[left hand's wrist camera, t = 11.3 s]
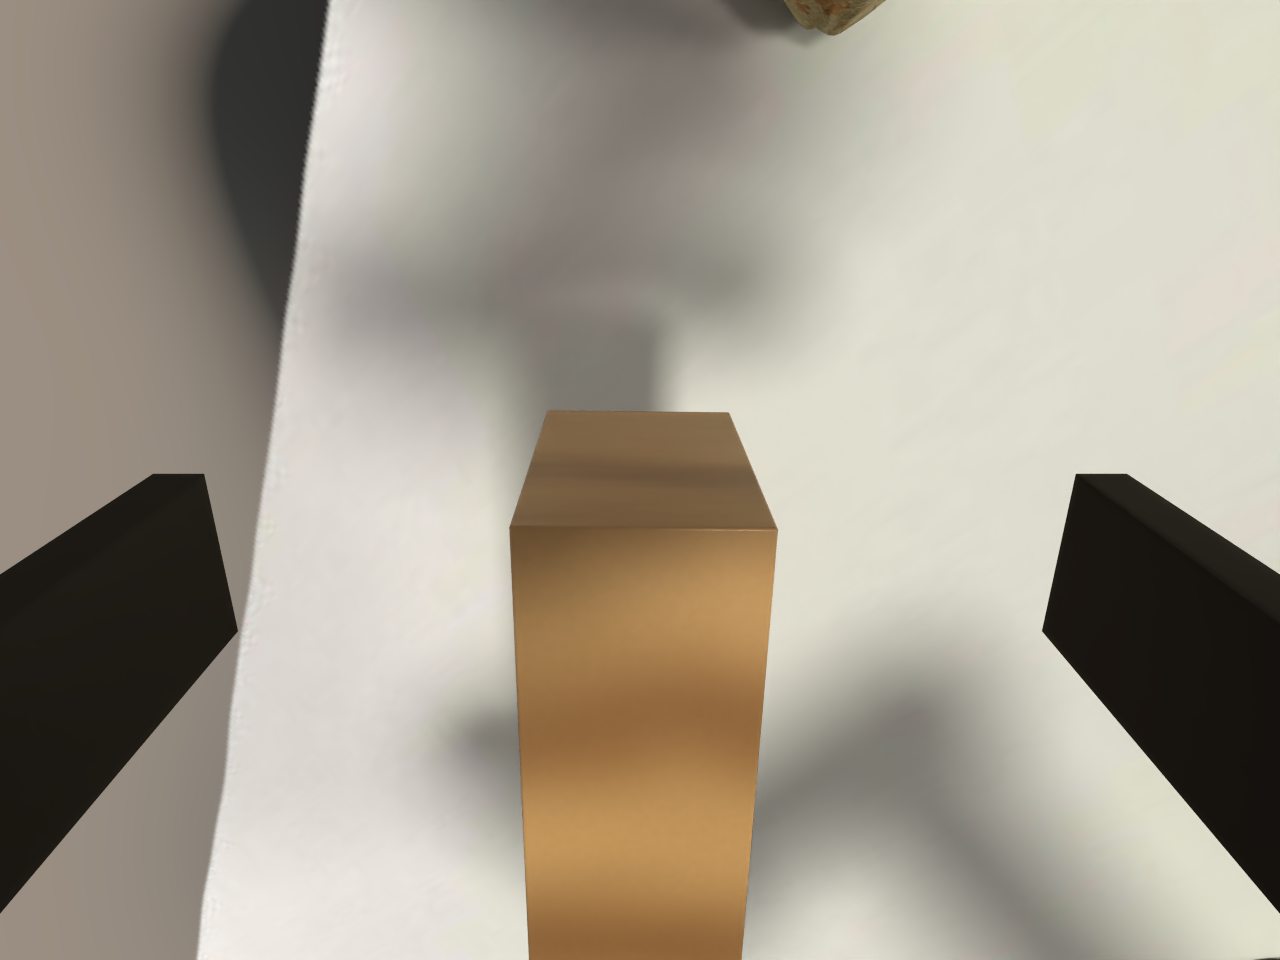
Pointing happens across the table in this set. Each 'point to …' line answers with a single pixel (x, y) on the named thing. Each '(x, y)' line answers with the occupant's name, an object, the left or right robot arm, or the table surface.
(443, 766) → the table surface
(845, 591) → the table surface
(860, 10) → the sculpture
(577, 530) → the bar
